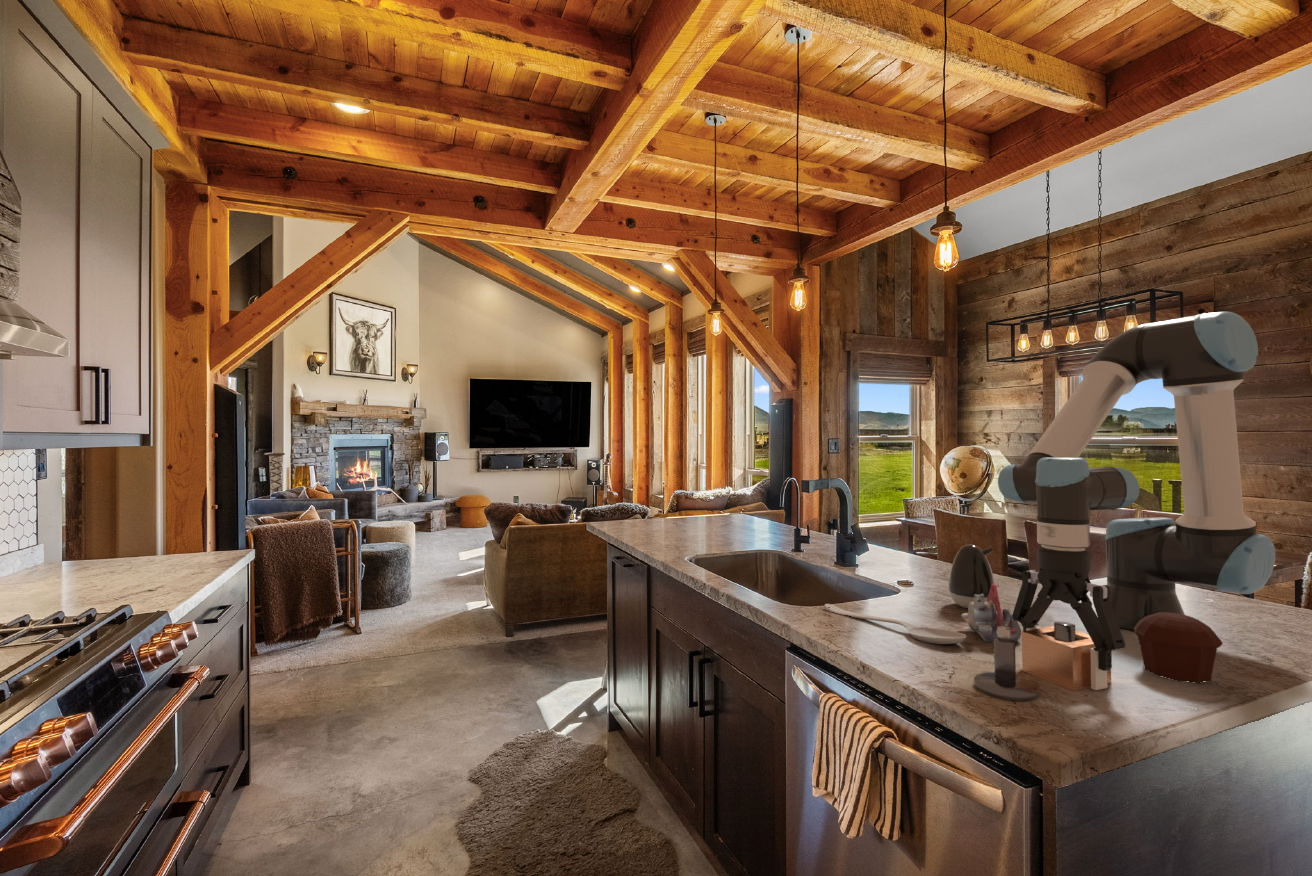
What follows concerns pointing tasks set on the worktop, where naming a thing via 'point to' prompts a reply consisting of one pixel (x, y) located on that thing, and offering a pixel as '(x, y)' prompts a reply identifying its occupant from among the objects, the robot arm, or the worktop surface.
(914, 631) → the spoon
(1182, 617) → the muffin
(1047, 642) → the collar
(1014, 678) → the cylinder
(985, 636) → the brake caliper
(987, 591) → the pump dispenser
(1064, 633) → the stand rod
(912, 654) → the worktop surface
